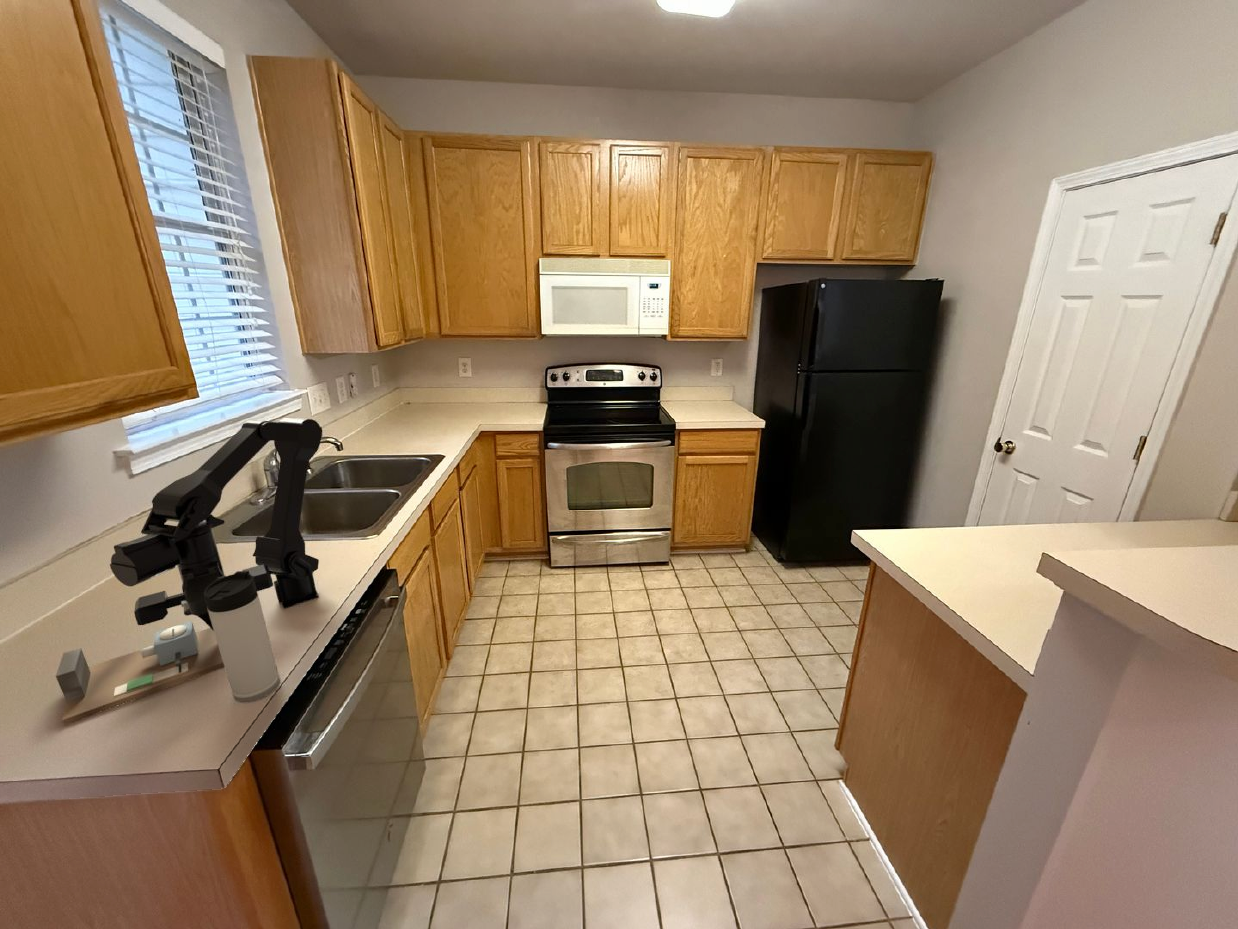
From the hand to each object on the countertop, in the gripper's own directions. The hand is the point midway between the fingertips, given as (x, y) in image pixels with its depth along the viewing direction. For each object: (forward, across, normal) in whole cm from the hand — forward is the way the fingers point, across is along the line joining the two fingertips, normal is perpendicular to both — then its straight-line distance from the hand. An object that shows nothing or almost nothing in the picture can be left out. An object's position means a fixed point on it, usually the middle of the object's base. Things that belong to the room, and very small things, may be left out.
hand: (219, 632), depth 91 cm
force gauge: (+1, -7, -2) cm, 7 cm away
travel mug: (+3, +4, -18) cm, 18 cm away
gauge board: (+3, -8, -1) cm, 9 cm away
